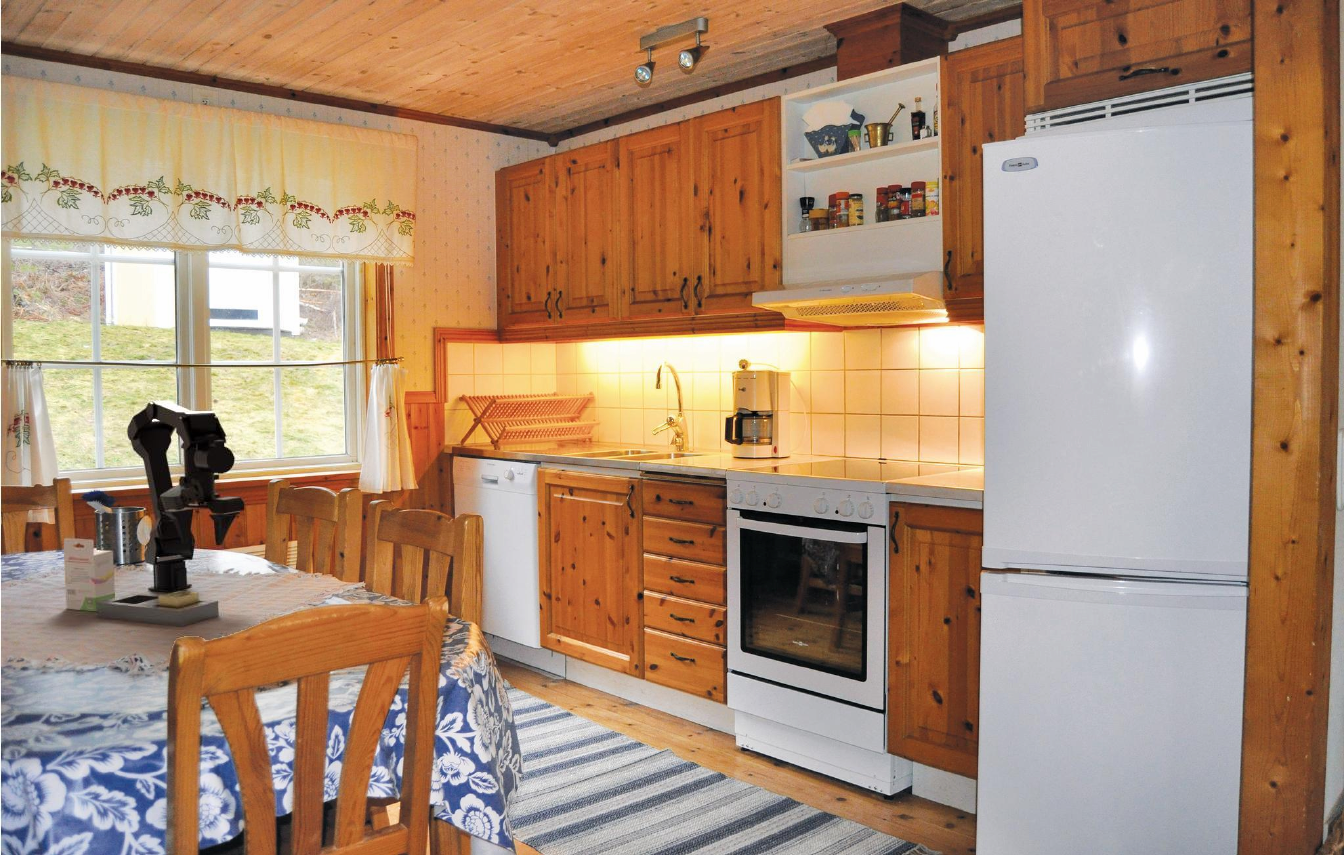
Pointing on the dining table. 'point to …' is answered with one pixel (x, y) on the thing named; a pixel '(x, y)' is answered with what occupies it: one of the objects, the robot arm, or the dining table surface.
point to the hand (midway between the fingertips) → (202, 544)
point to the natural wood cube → (178, 599)
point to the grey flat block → (155, 610)
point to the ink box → (87, 575)
